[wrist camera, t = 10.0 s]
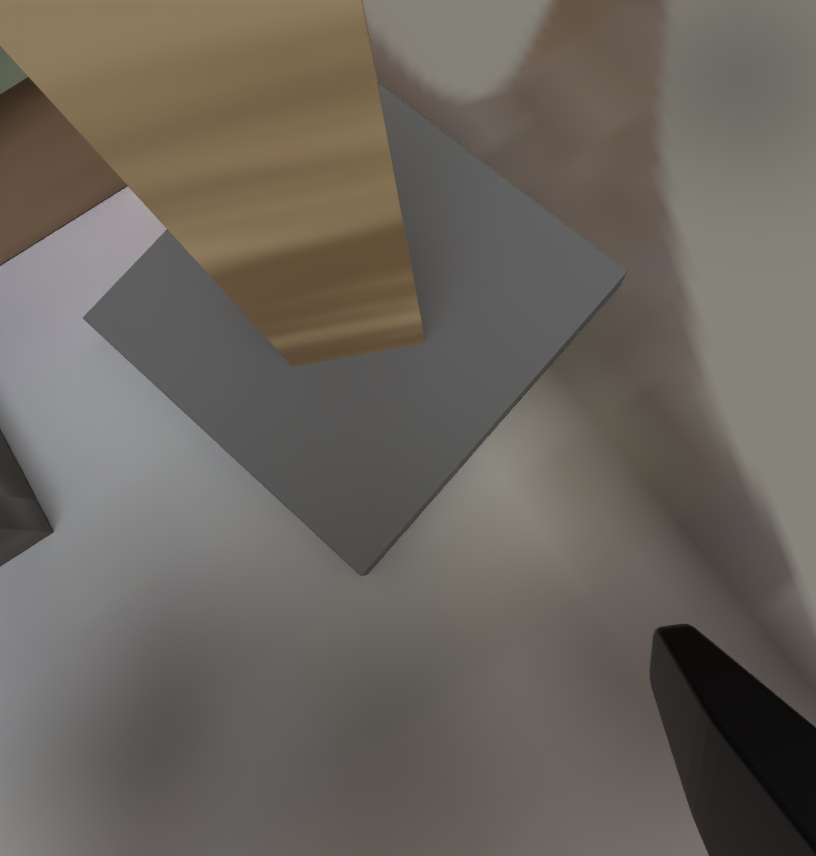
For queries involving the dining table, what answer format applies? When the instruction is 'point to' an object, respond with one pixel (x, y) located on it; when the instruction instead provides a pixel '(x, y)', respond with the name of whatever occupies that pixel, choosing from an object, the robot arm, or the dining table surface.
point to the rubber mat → (379, 371)
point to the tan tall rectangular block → (244, 151)
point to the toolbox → (37, 236)
